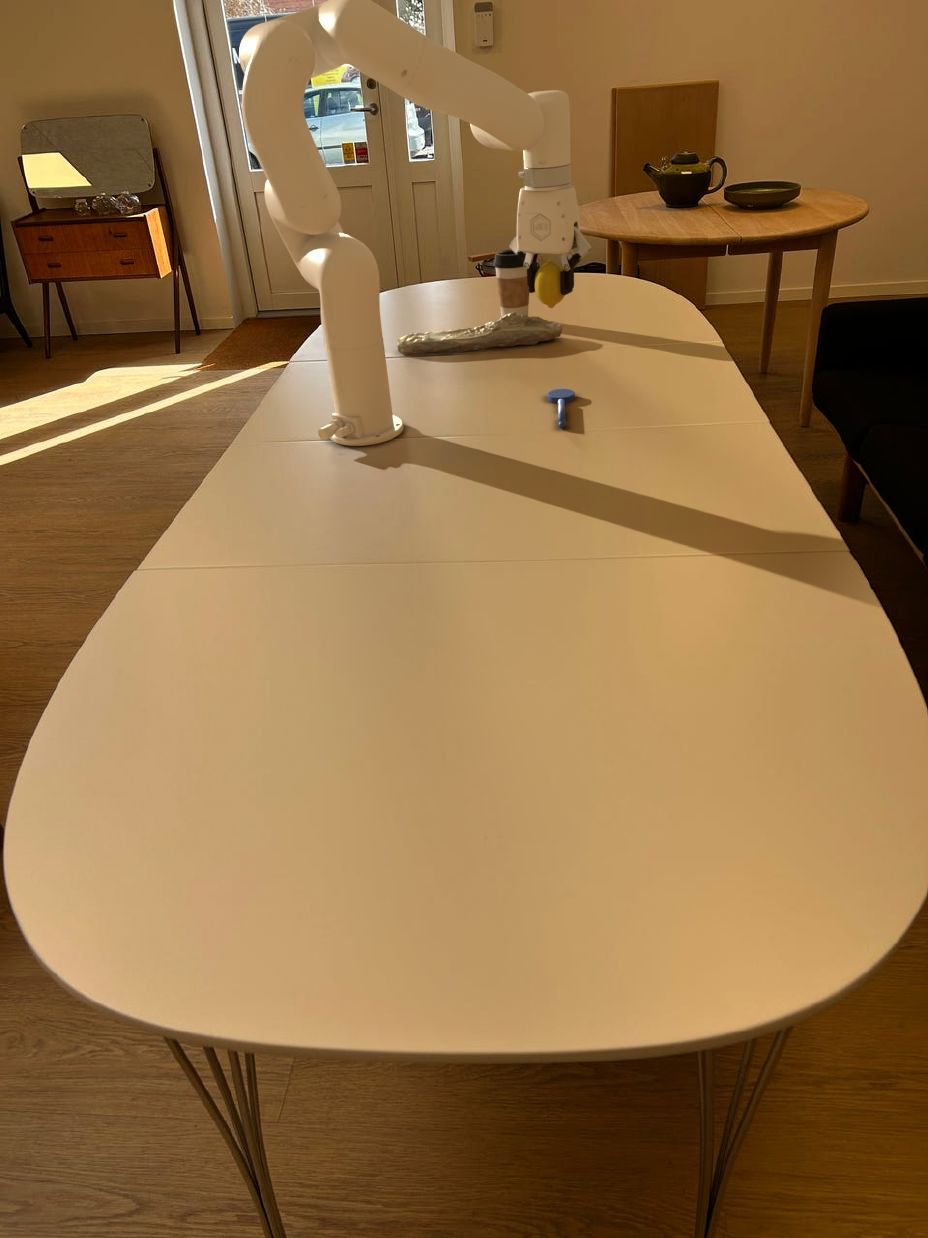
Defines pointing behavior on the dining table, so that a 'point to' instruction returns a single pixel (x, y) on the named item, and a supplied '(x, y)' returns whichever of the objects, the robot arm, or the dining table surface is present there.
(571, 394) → the blue paddle
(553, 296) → the lemon
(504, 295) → the coffee cup
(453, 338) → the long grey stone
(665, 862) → the dining table surface
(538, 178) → the robot arm
